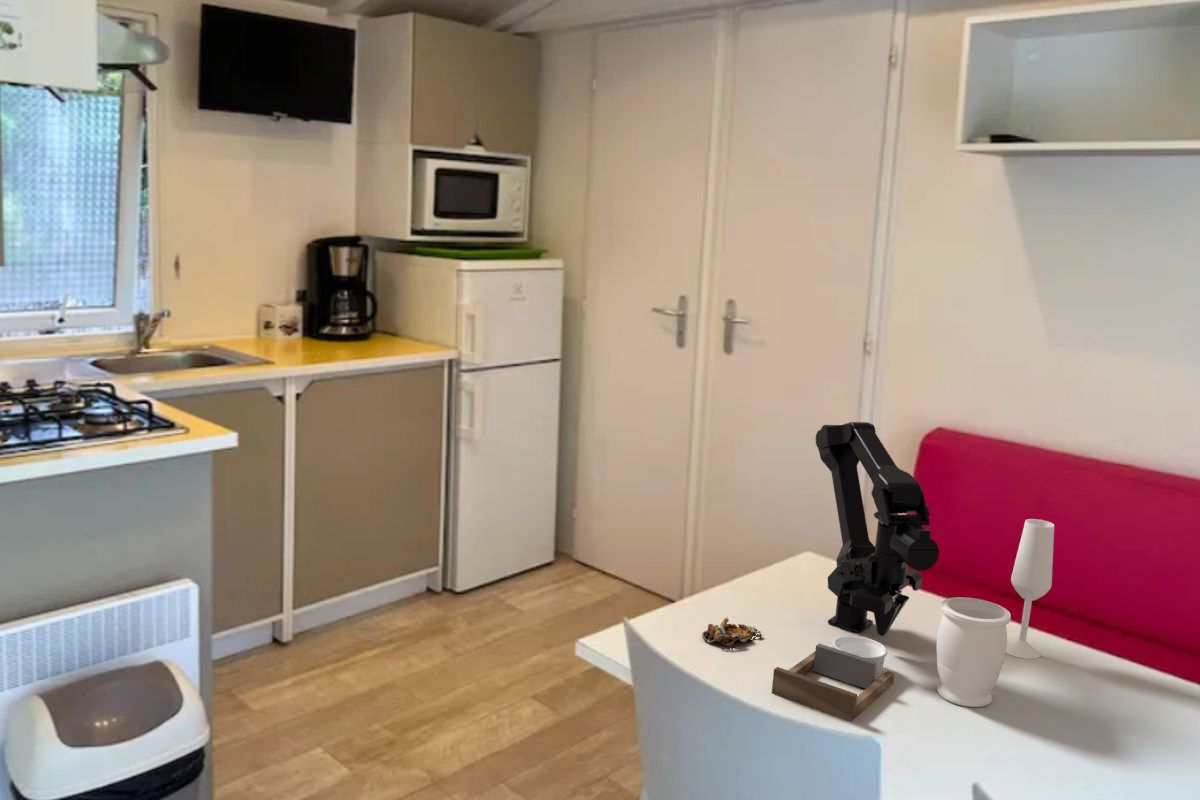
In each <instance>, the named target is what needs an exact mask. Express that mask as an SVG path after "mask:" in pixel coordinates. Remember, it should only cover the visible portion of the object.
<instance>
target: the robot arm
mask: <svg viewBox="0 0 1200 800" xmlns="http://www.w3.org/2000/svg"><path fill="white" fill-rule="evenodd" d="M815 445H816V447H817V450H818V453H819V458H820V460H821V462H822V463H823V464H824V465H825V466H826V467H827V469H828V470H829V471H830V473H831V478H832V484H833V490H834V491H833V492H834V497H835V504H836V510H837V516H838V517H837V518H838V522H839V529H840V536H841V541H842V542H841V543H842V546H841V548H840V551H839V553H838V555H837V558H836V559H835V562H836V567H835V568H834V569H833V571H832V572H831V573H830V574H828V577H827V588H828V590H829V591H830V592H831V593H833V594H834V595H835V596H836V598H837V599H836V607H835V615H833V616H832V617H831V618H829V619H828V620H827V624H829V625H833V626H836V627H839V628H842V629H845V630H848V631H851V632H855V633H862V632H864V631H865V630H866V629H867V628H869V627H870V626H871V625H873V623H874V621H875V626H876V632H877V634H878V636H881V637H884V636H885V635H886V634H887V633H888V631H889V630H890V629H891V627H892V625H893V624H894V623H895V620H896V618H897V617H898V616H899V614H900V612H901V611H902V609H903V608H904V606H905V605H906V603H907V602H908V601H909V599H910V596H908V595H904V594H902V593H903V591H902V590H903V589H904V588H906V587H908V586H909V585H911V588H912V591H915V592H917V591H918V590H920V589H921V588H922V586H923V585H922V583H923V577H922V575H921V573H920V572H924V571H927V570H930V569H932V567H934V566H935V564H936V563H937V562H938V560H939V556H940V550H939V546H938V543H937V542H936V541H935V540H934V539H932V538H931V535H932V534H931V530H930V529H929V528H924V527H926V526H927V527H928V526H930V524H931V523H930V518H929V517H930V516H931V514H930V511H929V508H928V505H927V501H926V498H925V494H924V490H923V489H922V487H921V485H920V483H919V482H918V481H917V480H916V479H915V478H914V476H913V475H911V473H910V472H907V471H904V470H903V469H902V468H899V467H898V466H897V464H896V463H895V461H894V460H893V458H892V457H891V455H890V454H889V452H888V450H887V449H886V447H885V446H884V444H883V443H882V440H881V439H880V438H879V437H878V435H877V433H876V427H875V425H874V424H873V423H870V422H865V421H863V422H862V421H849V422H847V423H843V424H824V425H822V426H821V428H820V429H818V431H816V434H815ZM859 462H860V463H861V465H862V467H863V468H864V471H865V472H866V473H867V475H868V477H869V478H870V480H871V482H872V489H871V493H870V494H871V497H872V499H873V502H874V505H875V507H876V509H877V511H876V512H874V514H873V517H874V518H875V519H877V520H878V521H877V529H876V535H875V537H876V538H875V545H874V544H873V542H871V540H870V538H869V531H868V524H867V519H866V514H865V506H864V502H863V495H862V490H861V488H862V487H861V484H860V477H859V472H858V464H859ZM915 513H916V514H915ZM908 566H909V567H910V568H912V569H909V568H908ZM868 612H871V613H872V614H873V616H874V621H873V620H872V619H869V618H868Z"/></svg>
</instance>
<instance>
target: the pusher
mask: <svg viewBox="0 0 1200 800" xmlns="http://www.w3.org/2000/svg"><path fill="white" fill-rule="evenodd" d="M814 652H815V660H814V669H813V670H812V671H813V672H815V673H819V674H821V675H824V676H826V677H827V676H828V677H831V678H833V679H836V680H838V681H839V680H840V681H842V682H845V683H847V684H851V685H854V686H856V687H860V688H863V689H864V690H865V689H866V688H868V687H869V686H870V685H871V684H872V683H873V682H875V679H876V678H875V671H876V661H872V660H869V659H866V658H863V657H860V656H857V655H854V654H851V653H847V652H844V651H841V650H838V649H835V648H833V647H832V646H828V645H825V644H822V643H818V644H817V645H815V651H814Z"/></svg>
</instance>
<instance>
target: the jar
mask: <svg viewBox="0 0 1200 800" xmlns="http://www.w3.org/2000/svg"><path fill="white" fill-rule="evenodd" d="M941 612H942V613H943V615H942V618H941V619H940V623H939V627H938V631H937V636H936V667H937V673H938V676H939V679H940V683H939V684H938V685H937V688H936V689H937V693H938V694H939V695H940V696H941V698H943V699H944V700H946V701H949V702H950V703H953V704H955V705H959V706H962V707H967V708H968V707H970V708H980V707H986V706H988V705H990V704H991V703H992V701H993V695H992V693H991V691H992V690H993V688H994V687H995V686H996V683H997V682H998V679H999V678H1000V674H1001V671H1002V667H1003V664H1004V662H1005V657H1006V654H1007V653H1006V648H1007V643H1008V630H1007V625H1008V624H1009V623H1010V622H1011V618H1012V617H1011V613H1010V611H1009V610H1008V609H1006V608H1005V607H1003V606H1002V605H999V604H997V603H995V602H994V603H993V602H991V601H987V600H984V599H981V598H972V597H965V596H964V597H960V596H959V597H949V598H946V599H944V600H943V601H942V602H941Z"/></svg>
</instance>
